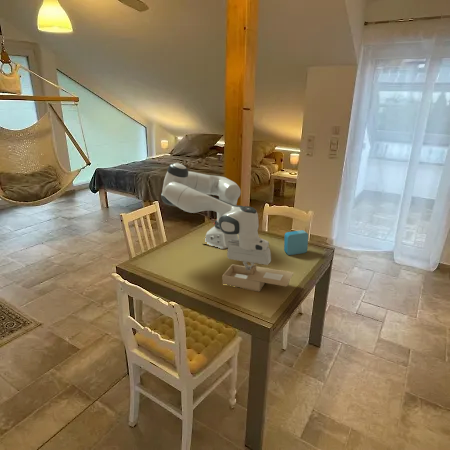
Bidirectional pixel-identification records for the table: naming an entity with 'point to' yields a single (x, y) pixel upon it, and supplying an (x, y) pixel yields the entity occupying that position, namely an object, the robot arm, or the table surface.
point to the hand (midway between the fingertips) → (248, 269)
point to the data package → (296, 242)
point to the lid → (269, 275)
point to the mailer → (240, 278)
